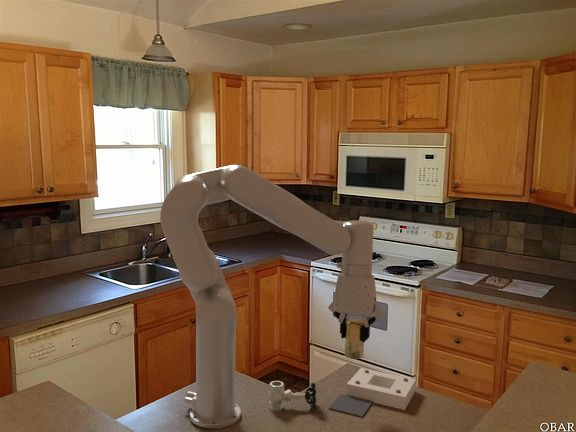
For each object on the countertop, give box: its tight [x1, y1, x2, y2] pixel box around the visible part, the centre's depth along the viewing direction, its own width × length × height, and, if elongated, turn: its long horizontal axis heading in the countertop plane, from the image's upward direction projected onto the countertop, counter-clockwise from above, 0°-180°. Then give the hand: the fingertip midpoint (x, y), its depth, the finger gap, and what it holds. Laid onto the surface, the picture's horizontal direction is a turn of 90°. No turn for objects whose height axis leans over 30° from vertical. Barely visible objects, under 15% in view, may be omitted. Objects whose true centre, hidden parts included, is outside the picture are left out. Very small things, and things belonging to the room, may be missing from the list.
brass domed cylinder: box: [344, 318, 365, 360], centre depth 133 cm, size 5×5×9 cm
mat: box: [328, 393, 374, 418], centre depth 135 cm, size 9×9×1 cm
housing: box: [345, 367, 417, 411], centre depth 142 cm, size 16×12×4 cm
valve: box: [268, 380, 317, 412], centre depth 133 cm, size 7×7×12 cm
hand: (354, 337), depth 133 cm, fingers closed on brass domed cylinder, 4 cm apart
